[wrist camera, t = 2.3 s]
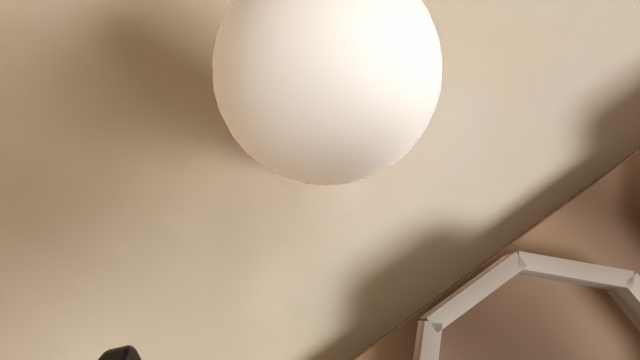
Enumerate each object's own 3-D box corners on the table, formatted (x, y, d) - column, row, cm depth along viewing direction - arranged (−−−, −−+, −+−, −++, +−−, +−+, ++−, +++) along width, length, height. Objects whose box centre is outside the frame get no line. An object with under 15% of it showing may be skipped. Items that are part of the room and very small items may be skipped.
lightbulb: (307, 260, 21) (281, 201, 10) (227, 139, 22) (133, -23, 12) (432, 178, 22) (527, 44, 11) (348, 64, 23) (362, -151, 13)
